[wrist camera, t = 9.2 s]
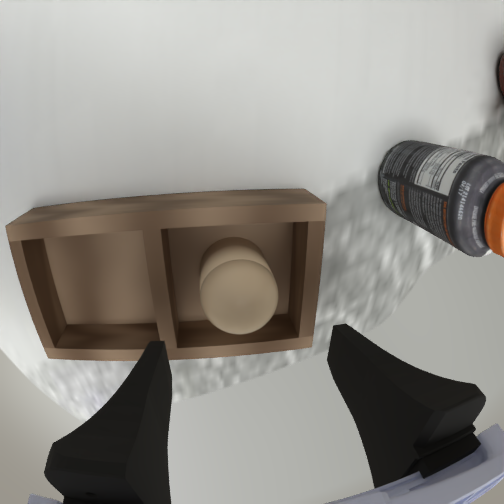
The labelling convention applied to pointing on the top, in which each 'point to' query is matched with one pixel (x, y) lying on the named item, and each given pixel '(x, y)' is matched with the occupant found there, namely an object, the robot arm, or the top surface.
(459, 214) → the pill bottle
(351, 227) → the top surface
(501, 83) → the mug
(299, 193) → the walnut holder
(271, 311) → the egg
